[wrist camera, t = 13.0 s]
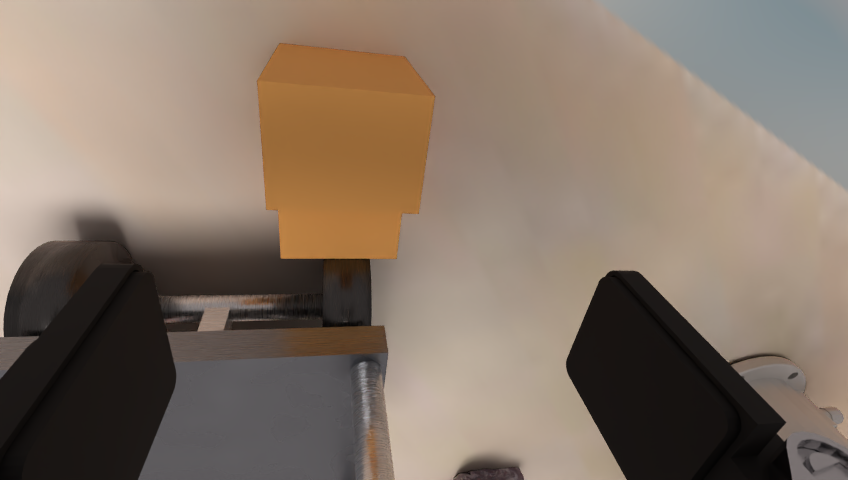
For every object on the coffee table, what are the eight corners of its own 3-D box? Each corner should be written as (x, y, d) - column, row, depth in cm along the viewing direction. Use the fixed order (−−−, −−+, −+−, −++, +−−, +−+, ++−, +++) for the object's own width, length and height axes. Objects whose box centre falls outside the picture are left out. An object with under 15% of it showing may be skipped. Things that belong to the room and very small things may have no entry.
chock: (404, 56, 18) (435, 96, 13) (388, 220, 22) (406, 302, 17) (279, 42, 17) (256, 80, 12) (287, 217, 21) (273, 305, 16)
